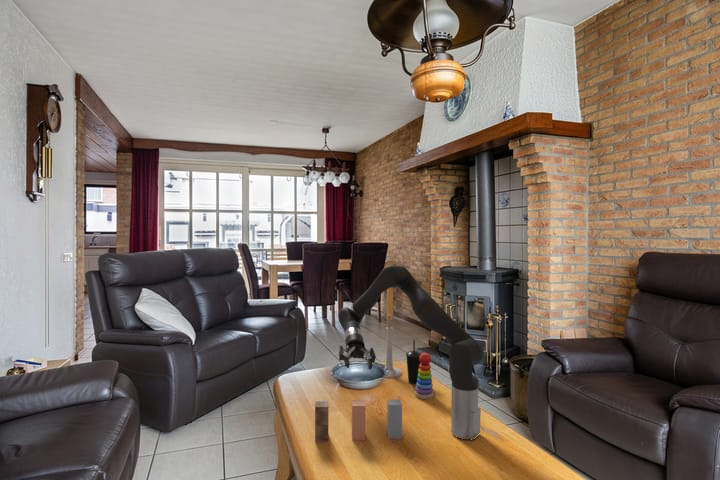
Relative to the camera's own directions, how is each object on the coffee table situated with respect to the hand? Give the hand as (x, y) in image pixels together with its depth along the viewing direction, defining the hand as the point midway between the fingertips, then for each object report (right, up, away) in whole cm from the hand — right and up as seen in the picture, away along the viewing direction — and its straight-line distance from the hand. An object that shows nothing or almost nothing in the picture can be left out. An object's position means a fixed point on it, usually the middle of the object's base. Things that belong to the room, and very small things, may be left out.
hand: (359, 366), depth 155 cm
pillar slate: (+12, -21, -11) cm, 27 cm away
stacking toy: (+28, -20, +22) cm, 41 cm away
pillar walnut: (-13, -21, -13) cm, 28 cm away
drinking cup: (+26, -19, +38) cm, 50 cm away
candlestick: (+15, -19, +50) cm, 55 cm away
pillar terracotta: (0, -21, -12) cm, 24 cm away
